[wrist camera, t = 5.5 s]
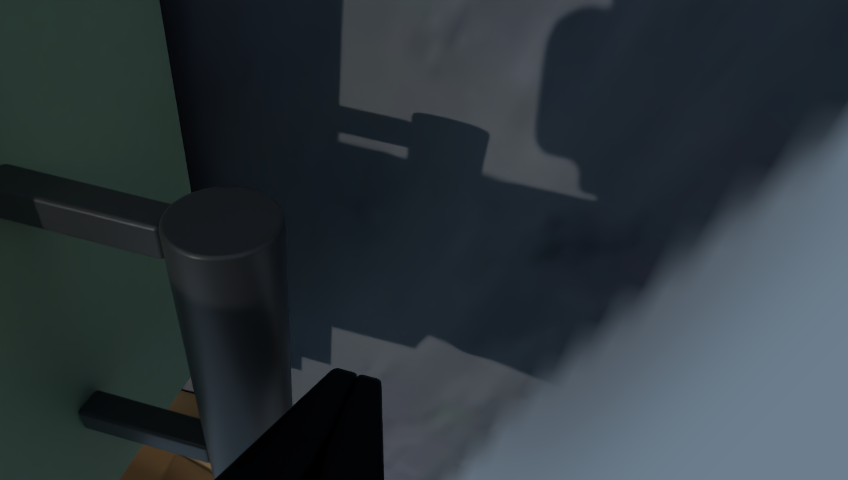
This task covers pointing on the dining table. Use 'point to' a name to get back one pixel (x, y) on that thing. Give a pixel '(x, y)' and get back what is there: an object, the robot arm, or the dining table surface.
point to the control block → (169, 454)
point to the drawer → (123, 258)
